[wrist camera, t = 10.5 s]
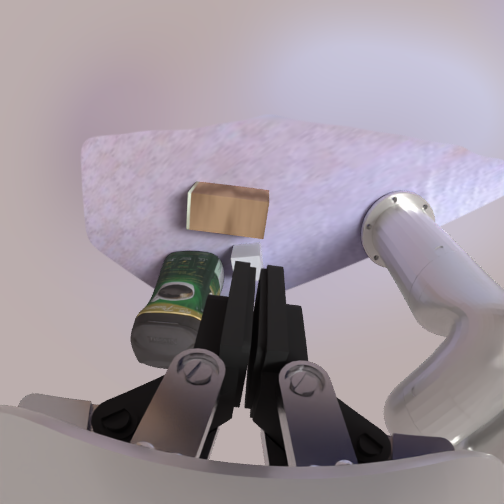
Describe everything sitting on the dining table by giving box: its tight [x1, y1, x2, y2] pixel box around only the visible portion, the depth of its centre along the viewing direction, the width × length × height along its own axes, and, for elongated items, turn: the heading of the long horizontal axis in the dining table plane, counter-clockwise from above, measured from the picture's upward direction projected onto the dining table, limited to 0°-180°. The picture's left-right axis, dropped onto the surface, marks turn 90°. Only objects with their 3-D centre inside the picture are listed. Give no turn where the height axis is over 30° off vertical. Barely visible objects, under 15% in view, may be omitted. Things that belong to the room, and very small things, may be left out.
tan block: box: [186, 182, 269, 239], centre depth 40 cm, size 5×5×10 cm
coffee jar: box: [131, 251, 224, 369], centre depth 39 cm, size 10×8×19 cm
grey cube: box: [231, 242, 263, 281], centre depth 44 cm, size 4×4×4 cm
